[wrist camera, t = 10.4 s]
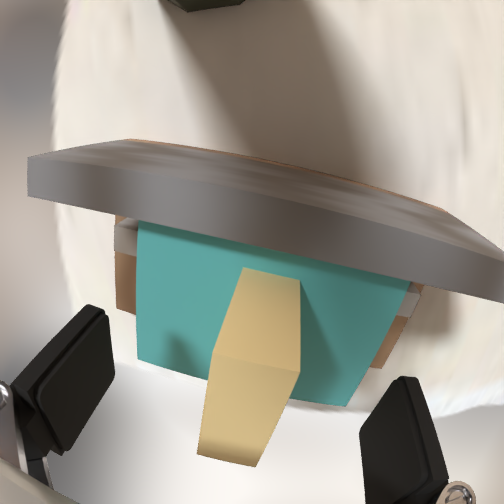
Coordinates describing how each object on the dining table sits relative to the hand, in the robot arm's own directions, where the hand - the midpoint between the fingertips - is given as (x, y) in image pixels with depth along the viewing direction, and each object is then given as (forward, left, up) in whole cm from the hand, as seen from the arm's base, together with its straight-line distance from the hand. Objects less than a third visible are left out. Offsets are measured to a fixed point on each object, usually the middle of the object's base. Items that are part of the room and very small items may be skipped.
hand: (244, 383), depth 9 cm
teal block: (0, 0, -10) cm, 10 cm away
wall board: (0, +1, -11) cm, 11 cm away
